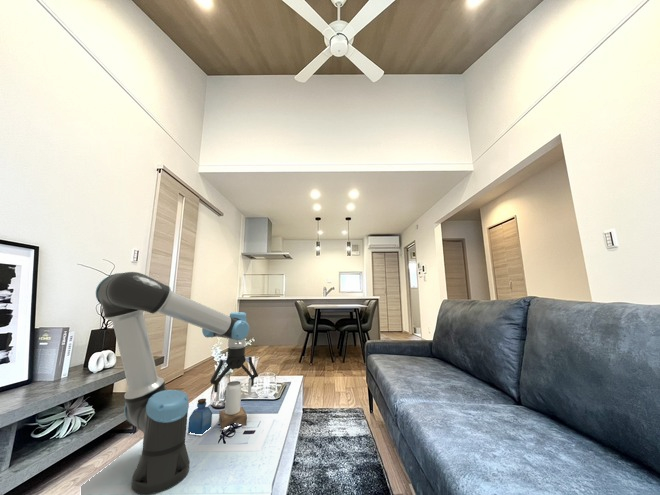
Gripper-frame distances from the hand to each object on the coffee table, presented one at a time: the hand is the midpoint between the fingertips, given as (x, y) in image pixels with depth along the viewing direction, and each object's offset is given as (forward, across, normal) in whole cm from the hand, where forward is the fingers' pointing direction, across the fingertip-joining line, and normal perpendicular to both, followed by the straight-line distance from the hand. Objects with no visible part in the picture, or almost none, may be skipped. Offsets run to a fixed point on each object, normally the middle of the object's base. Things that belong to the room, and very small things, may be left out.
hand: (233, 397), depth 119 cm
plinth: (+10, 0, 0) cm, 10 cm away
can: (+6, 0, 0) cm, 6 cm away
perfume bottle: (+11, -13, -1) cm, 17 cm away
